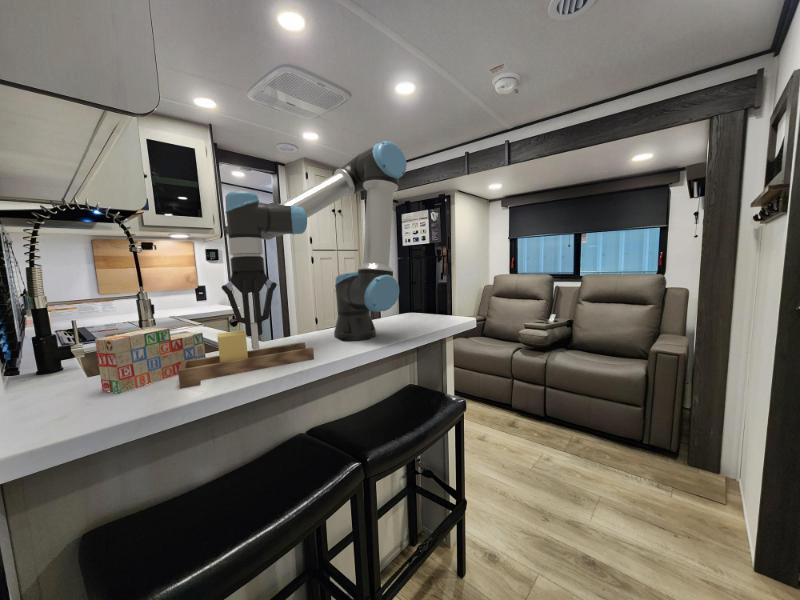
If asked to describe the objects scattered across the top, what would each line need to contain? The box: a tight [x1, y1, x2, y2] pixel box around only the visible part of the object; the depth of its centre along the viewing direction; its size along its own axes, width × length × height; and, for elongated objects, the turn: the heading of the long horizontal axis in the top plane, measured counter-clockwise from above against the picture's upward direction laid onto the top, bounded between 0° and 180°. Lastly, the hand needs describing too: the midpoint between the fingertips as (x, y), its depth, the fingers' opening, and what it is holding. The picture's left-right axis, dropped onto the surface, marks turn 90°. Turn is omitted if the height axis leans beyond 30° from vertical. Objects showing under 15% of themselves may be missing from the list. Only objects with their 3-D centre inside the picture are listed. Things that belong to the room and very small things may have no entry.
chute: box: [177, 341, 315, 389], centre depth 82 cm, size 30×9×4 cm, turn 121°
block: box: [216, 330, 248, 363], centre depth 80 cm, size 6×6×9 cm
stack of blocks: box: [94, 327, 206, 394], centre depth 80 cm, size 21×6×12 cm, turn 162°
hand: (255, 348), depth 83 cm, fingers closed
